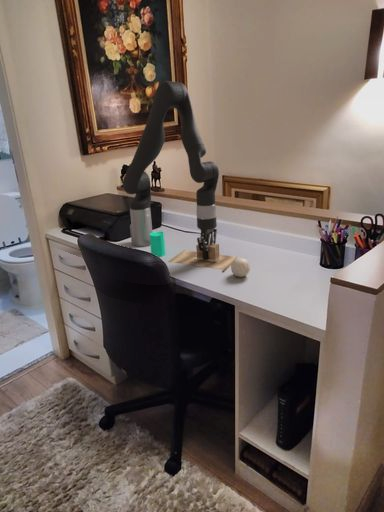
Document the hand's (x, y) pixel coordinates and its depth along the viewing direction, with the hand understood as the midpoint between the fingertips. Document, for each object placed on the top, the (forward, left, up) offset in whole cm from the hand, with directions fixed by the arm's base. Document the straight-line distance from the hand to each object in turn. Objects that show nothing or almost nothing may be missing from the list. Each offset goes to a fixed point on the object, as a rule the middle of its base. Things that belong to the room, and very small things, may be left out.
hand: (208, 257), depth 152 cm
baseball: (+16, -8, -3) cm, 18 cm away
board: (-3, 0, -2) cm, 4 cm away
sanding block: (0, 0, -1) cm, 1 cm away
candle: (-23, -1, -3) cm, 23 cm away
